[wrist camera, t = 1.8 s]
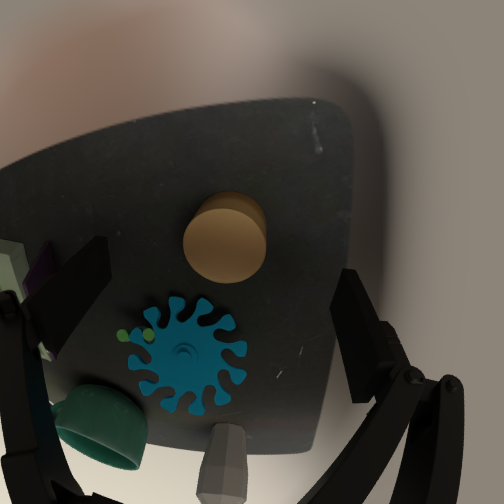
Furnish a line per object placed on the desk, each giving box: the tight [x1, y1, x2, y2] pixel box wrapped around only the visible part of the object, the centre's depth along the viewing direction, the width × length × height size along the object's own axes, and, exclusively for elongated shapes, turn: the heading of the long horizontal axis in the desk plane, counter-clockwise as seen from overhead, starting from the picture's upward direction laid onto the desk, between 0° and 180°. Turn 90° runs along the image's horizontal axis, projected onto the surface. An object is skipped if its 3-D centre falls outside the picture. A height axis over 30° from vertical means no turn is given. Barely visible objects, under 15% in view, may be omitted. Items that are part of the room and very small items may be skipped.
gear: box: [117, 297, 247, 415], centre depth 23 cm, size 11×6×10 cm
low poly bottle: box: [196, 423, 248, 504], centre depth 25 cm, size 6×6×22 cm
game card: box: [22, 242, 58, 360], centre depth 21 cm, size 7×5×9 cm
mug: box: [51, 384, 148, 470], centre depth 29 cm, size 17×13×10 cm
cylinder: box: [183, 191, 266, 283], centre depth 18 cm, size 5×5×4 cm
